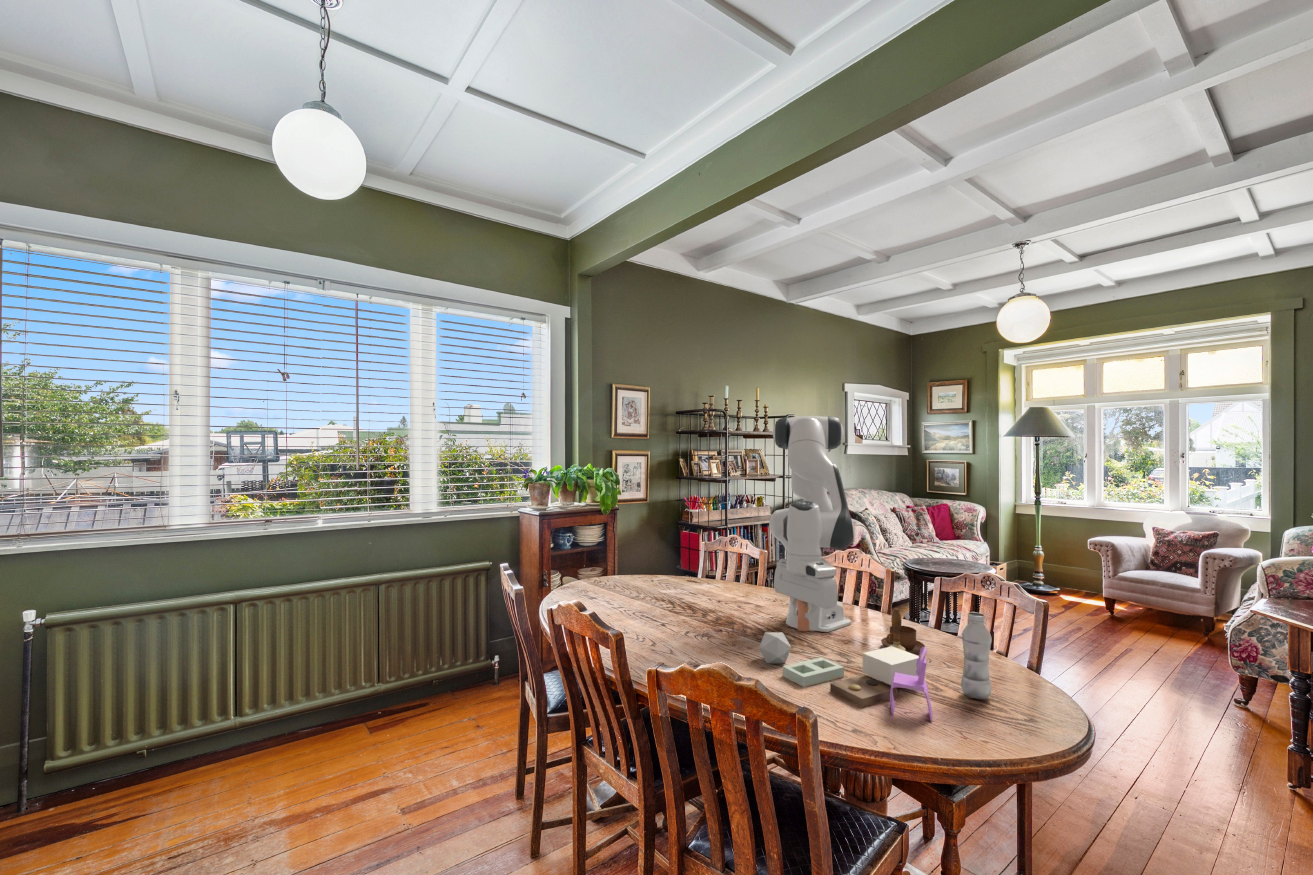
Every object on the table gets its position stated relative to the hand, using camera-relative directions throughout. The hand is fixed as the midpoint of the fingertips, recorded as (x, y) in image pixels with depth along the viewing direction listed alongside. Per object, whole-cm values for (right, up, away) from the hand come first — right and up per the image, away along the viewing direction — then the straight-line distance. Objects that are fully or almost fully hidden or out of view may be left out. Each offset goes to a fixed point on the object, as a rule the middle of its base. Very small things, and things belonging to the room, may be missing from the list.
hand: (803, 617), depth 152 cm
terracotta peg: (0, -3, 0) cm, 3 cm away
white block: (+21, -13, -4) cm, 25 cm away
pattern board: (+12, -16, -9) cm, 22 cm away
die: (-5, -16, +12) cm, 21 cm away
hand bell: (+28, -17, +8) cm, 33 cm away
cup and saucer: (+35, -17, +23) cm, 45 cm away
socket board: (+3, -16, +2) cm, 16 cm away
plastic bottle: (+39, -16, -10) cm, 44 cm away
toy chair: (+20, -16, -19) cm, 32 cm away
